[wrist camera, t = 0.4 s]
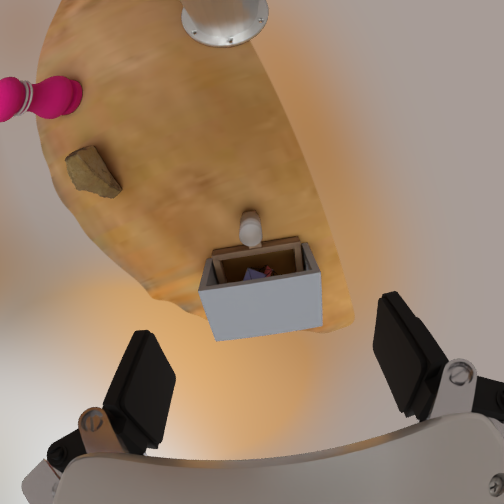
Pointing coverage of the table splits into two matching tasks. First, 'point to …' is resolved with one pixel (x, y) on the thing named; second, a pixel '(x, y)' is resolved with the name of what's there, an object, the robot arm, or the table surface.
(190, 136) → the table surface
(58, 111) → the pepper mill
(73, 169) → the rock
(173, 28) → the table surface
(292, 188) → the table surface
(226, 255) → the brown open frame
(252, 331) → the open box
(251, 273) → the geometric puzzle
